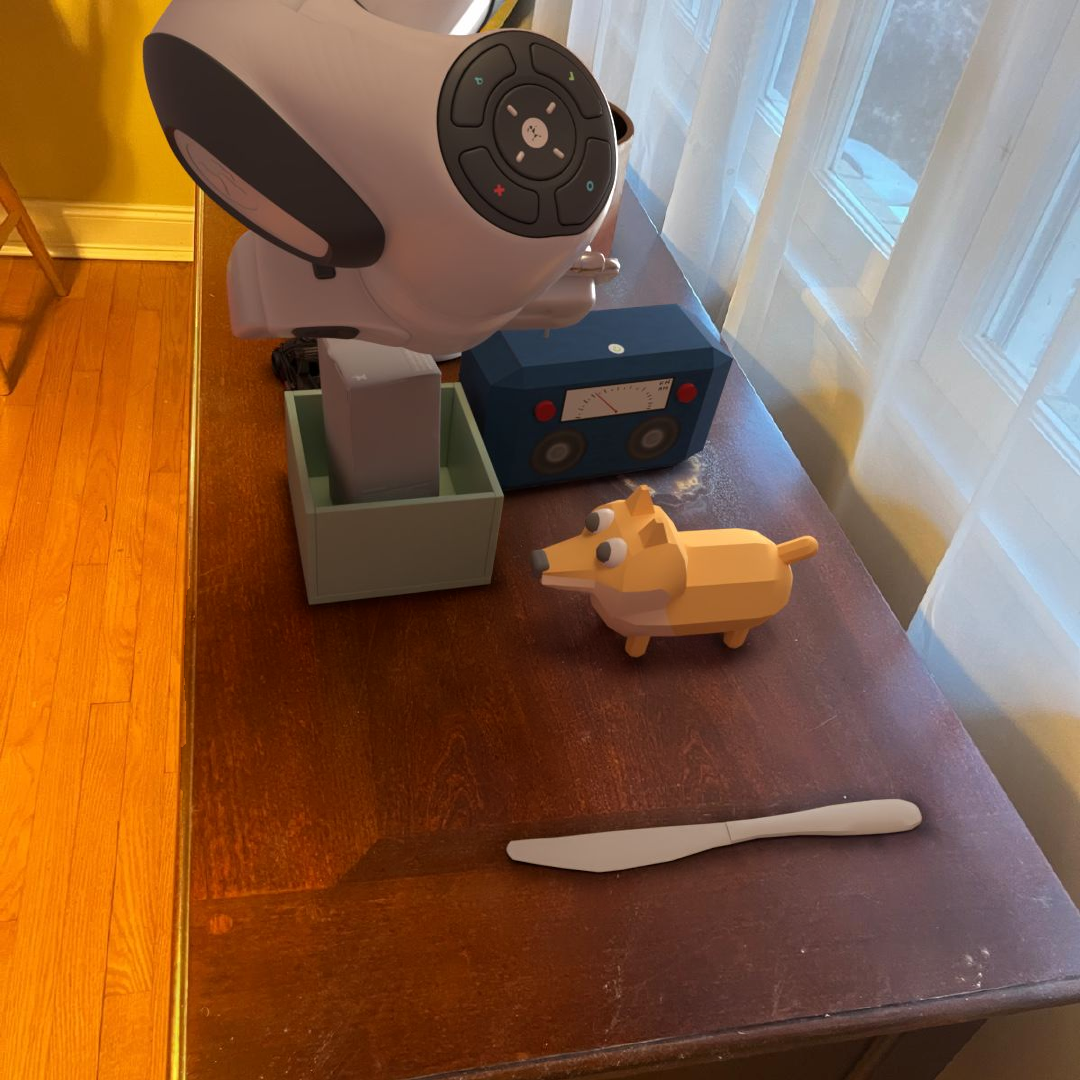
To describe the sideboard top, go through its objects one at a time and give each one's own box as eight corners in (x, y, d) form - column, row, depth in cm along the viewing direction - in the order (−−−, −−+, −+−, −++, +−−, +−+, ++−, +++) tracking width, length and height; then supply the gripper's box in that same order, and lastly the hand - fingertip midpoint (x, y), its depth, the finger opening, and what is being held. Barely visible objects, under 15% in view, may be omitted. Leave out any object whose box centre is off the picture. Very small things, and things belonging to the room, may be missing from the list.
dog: (505, 602, 72) (528, 467, 63) (754, 583, 77) (809, 456, 68) (528, 688, 67) (557, 554, 58) (794, 662, 72) (858, 535, 63)
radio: (481, 507, 79) (512, 285, 65) (448, 439, 84) (470, 221, 71) (706, 471, 86) (777, 265, 73) (662, 411, 92) (720, 209, 78)
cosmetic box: (440, 550, 74) (457, 375, 63) (346, 569, 71) (347, 389, 60) (405, 478, 79) (416, 305, 68) (316, 492, 76) (313, 315, 65)
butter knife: (933, 837, 62) (914, 794, 64) (510, 879, 56) (503, 830, 58) (929, 842, 62) (910, 798, 64) (509, 883, 57) (502, 834, 59)
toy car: (335, 350, 91) (335, 309, 88) (369, 430, 84) (371, 388, 81) (267, 357, 89) (265, 315, 86) (297, 439, 82) (295, 396, 79)
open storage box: (308, 605, 69) (306, 514, 63) (288, 481, 78) (284, 390, 72) (490, 584, 73) (504, 496, 67) (451, 468, 82) (460, 381, 76)
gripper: (627, 199, 52) (546, 270, 65) (221, 195, 46) (222, 274, 59) (638, 318, 52) (555, 365, 65) (235, 331, 46) (233, 380, 59)
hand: (394, 322), depth 62 cm, fingers open, 8 cm apart
